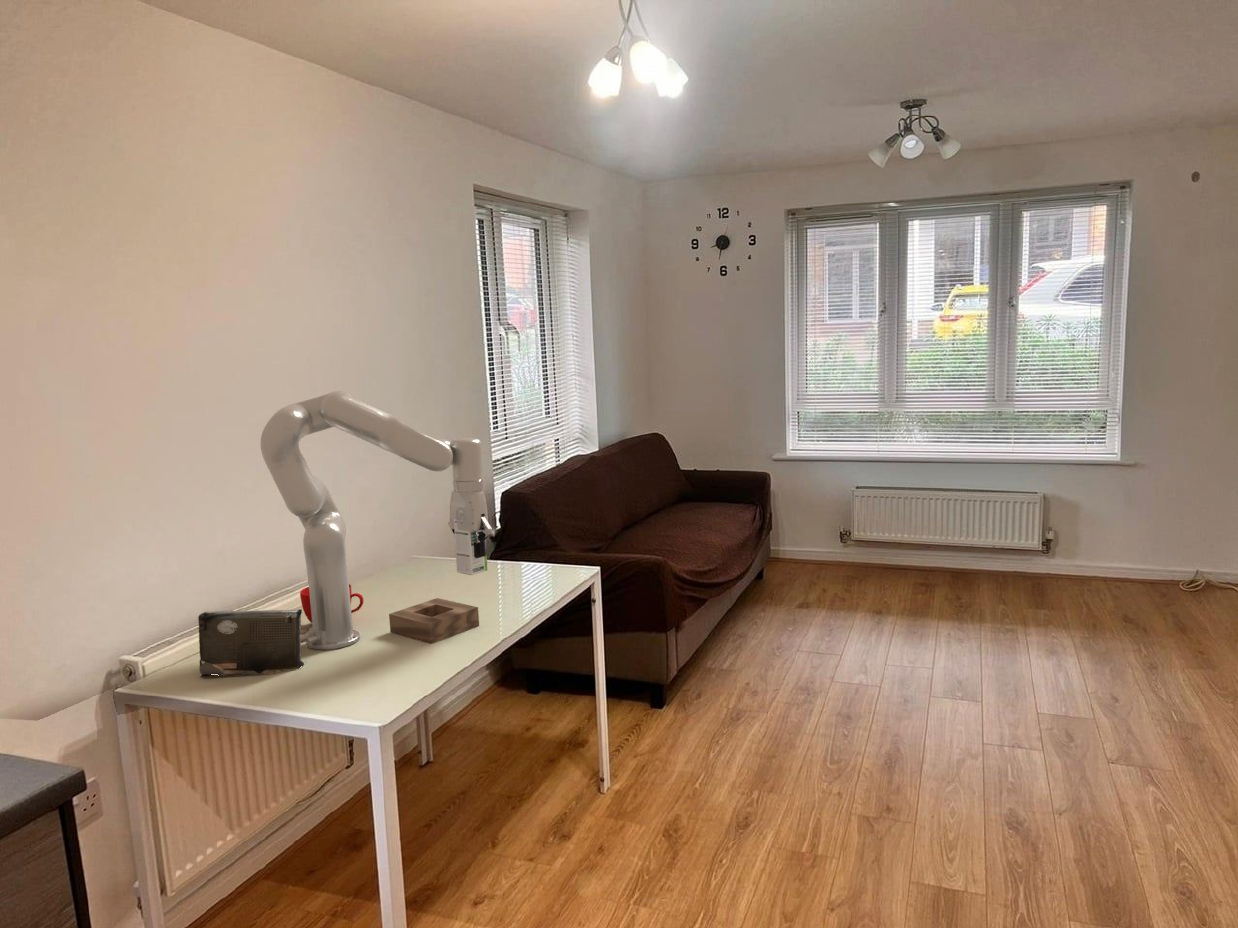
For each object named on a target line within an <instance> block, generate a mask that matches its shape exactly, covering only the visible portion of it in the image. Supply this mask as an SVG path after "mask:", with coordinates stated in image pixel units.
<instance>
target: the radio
mask: <svg viewBox="0 0 1238 928" xmlns="http://www.w3.org/2000/svg"><path fill="white" fill-rule="evenodd" d="M302 610H303V609H277V610H275V609H274V610H273V609H272V610H271V609H270V610H269V609H267V610H266V609H265V610H238V611H237V610H220V611H219V610H218V611H209V610H207V611H204V612H202V613H199V615H198V617H197V618H198V619H197V621H198V641H199V642H198V644H199V647H198V648H199V658H200V659H199V674H200V678H212V677H213V678H214V677H215V676H216V677H218V675H219V677H237V676H258V675H271V674H273V675H274V674H277V673H281V672H286V671H287V672H289V671H297V670H296V669H298V670H300V669H301V668H300V667H301V666H302V667H303V666H305V665H304V662H306V661H307V660H302V659H301V657H302V656H301V653H302V643H301V637H300V636H301V635H302V634H301V633H302V614H303V613H302V612H303V611H302ZM299 668H300V669H299ZM211 674H218V675H211ZM223 675H225V676H223ZM216 677H215V678H216Z"/></svg>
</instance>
